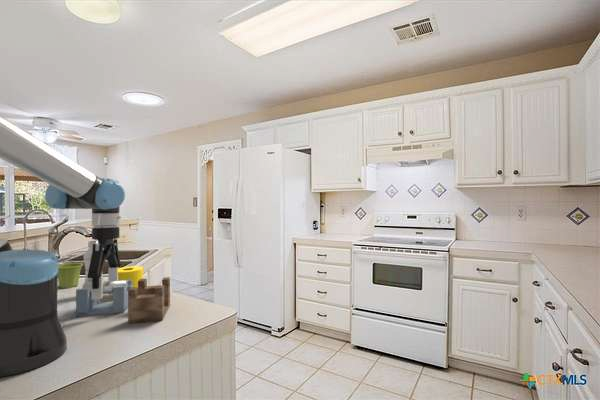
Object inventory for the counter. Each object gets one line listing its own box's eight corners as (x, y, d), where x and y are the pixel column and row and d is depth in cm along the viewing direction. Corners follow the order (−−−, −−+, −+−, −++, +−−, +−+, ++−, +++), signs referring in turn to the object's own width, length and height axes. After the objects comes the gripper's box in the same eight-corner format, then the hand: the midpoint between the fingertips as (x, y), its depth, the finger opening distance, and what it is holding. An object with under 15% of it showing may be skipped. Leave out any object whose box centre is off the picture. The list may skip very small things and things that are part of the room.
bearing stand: (170, 305, 100) (170, 277, 100) (162, 320, 88) (162, 287, 88) (140, 308, 98) (140, 278, 98) (128, 323, 86) (128, 290, 86)
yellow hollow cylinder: (118, 300, 106) (118, 273, 106) (108, 294, 113) (108, 269, 113) (147, 293, 114) (147, 268, 114) (137, 288, 120) (136, 265, 120)
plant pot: (82, 282, 131) (82, 262, 131) (83, 286, 123) (84, 265, 123) (54, 285, 125) (54, 264, 125) (54, 291, 117) (54, 268, 117)
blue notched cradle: (123, 312, 94) (123, 286, 94) (76, 316, 91) (76, 289, 91) (132, 303, 103) (132, 279, 103) (89, 306, 100) (89, 282, 100)
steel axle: (81, 297, 94) (81, 284, 94) (87, 293, 98) (87, 281, 97) (124, 294, 97) (124, 282, 96) (128, 290, 100) (128, 278, 100)
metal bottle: (92, 298, 108) (92, 242, 108) (78, 296, 110) (78, 242, 110) (108, 293, 114) (108, 240, 114) (95, 291, 116) (95, 239, 116)
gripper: (104, 229, 86) (103, 304, 86) (130, 223, 110) (130, 281, 110) (73, 230, 84) (73, 306, 84) (107, 224, 108) (107, 283, 108)
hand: (105, 292), depth 97 cm, fingers open, 13 cm apart
